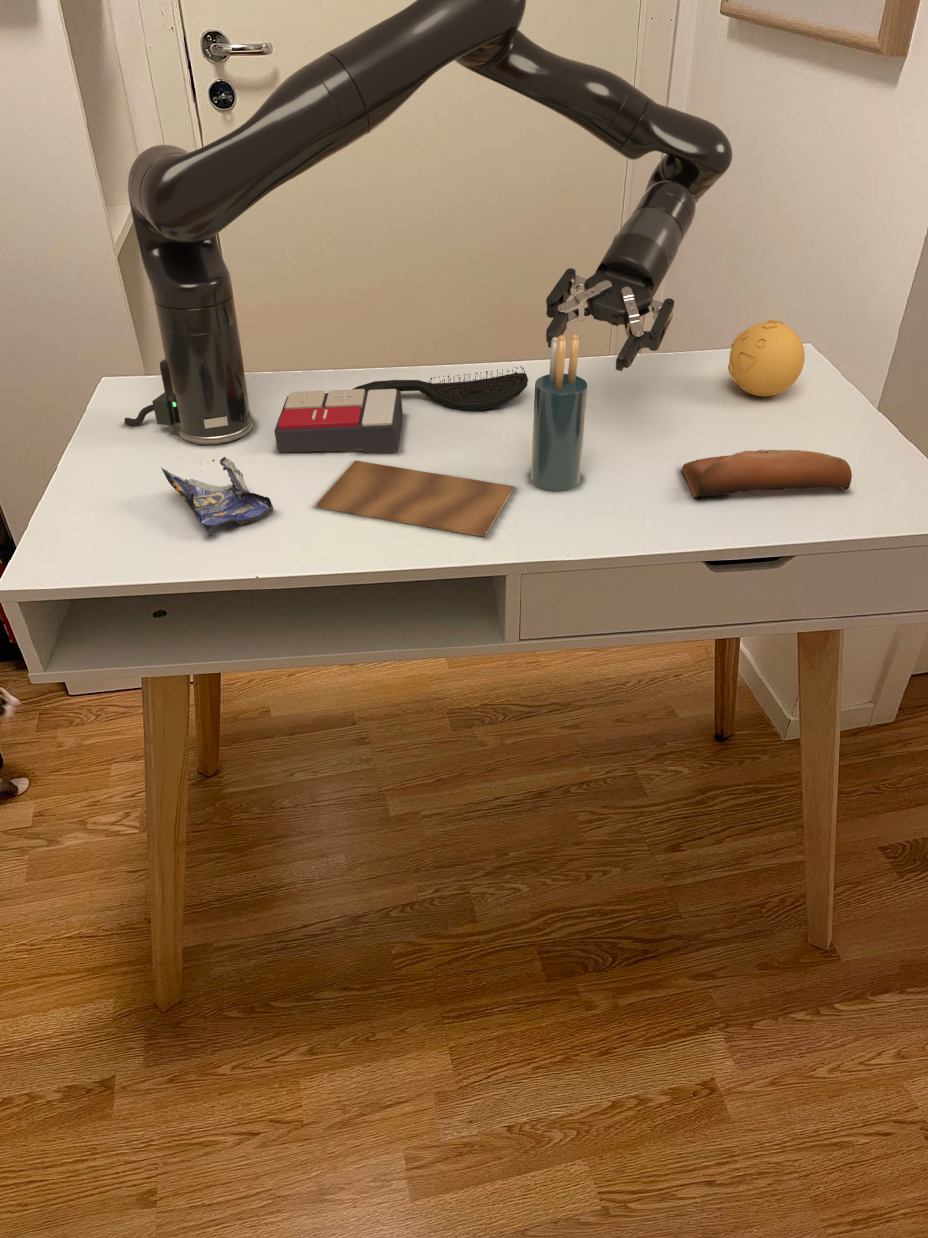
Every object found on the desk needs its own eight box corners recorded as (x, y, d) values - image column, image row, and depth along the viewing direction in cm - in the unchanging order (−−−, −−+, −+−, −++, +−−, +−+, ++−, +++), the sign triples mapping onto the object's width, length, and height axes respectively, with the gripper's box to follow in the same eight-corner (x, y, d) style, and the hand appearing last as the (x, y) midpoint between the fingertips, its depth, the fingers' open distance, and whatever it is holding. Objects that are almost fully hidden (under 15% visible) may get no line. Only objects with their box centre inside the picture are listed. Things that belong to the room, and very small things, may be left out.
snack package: (268, 479, 115) (167, 487, 112) (264, 434, 110) (158, 442, 108) (277, 546, 107) (168, 556, 104) (273, 501, 102) (159, 510, 100)
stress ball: (790, 380, 138) (805, 311, 132) (801, 410, 130) (818, 337, 124) (719, 377, 139) (731, 308, 133) (726, 406, 131) (739, 334, 125)
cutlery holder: (525, 486, 113) (531, 337, 102) (537, 464, 117) (545, 319, 107) (573, 494, 112) (585, 343, 101) (584, 471, 116) (596, 325, 105)
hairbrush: (346, 367, 134) (526, 358, 134) (349, 392, 136) (526, 383, 136) (341, 392, 128) (529, 382, 127) (344, 417, 130) (530, 408, 129)
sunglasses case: (820, 456, 118) (843, 426, 112) (834, 507, 115) (858, 478, 109) (676, 464, 116) (691, 433, 110) (687, 515, 114) (703, 487, 107)
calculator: (286, 388, 126) (400, 383, 126) (291, 419, 129) (403, 414, 128) (272, 425, 117) (394, 420, 117) (278, 457, 120) (398, 452, 120)
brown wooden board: (316, 507, 109) (316, 503, 109) (355, 463, 117) (355, 460, 117) (485, 537, 104) (485, 533, 104) (513, 489, 112) (513, 485, 112)
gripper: (692, 296, 118) (639, 394, 112) (585, 263, 122) (529, 357, 116) (699, 249, 111) (644, 351, 105) (586, 216, 115) (527, 313, 109)
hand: (584, 354), depth 111 cm, fingers open, 8 cm apart
